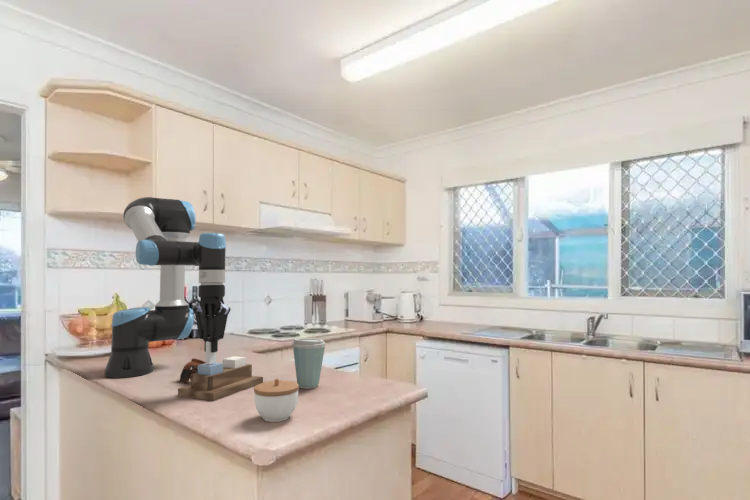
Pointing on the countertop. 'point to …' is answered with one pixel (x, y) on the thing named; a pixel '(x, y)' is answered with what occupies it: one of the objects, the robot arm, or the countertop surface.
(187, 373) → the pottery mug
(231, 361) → the white block
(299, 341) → the disposable coffee cup
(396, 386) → the countertop surface
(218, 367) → the light blue block
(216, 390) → the wooden stepped stand
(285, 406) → the lidded jar
